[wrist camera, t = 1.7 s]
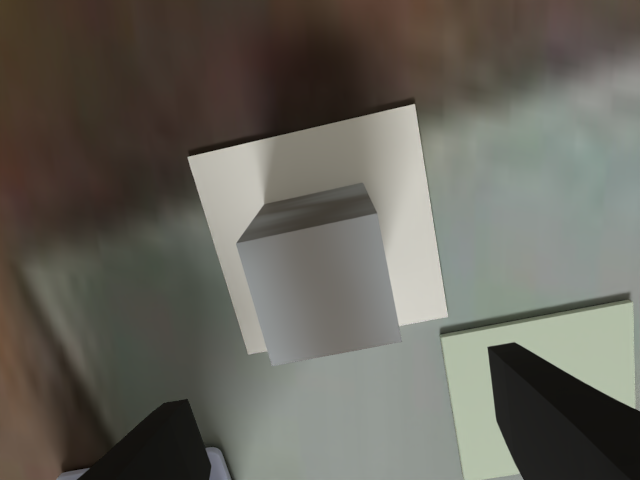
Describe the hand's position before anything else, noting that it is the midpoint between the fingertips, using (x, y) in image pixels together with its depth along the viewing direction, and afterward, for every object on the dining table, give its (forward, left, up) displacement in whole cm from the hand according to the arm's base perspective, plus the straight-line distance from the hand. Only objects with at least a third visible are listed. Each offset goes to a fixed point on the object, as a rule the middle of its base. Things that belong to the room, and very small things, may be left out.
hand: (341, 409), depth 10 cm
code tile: (0, +1, -11) cm, 11 cm away
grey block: (0, +1, -10) cm, 10 cm away
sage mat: (+9, -9, -11) cm, 16 cm away
